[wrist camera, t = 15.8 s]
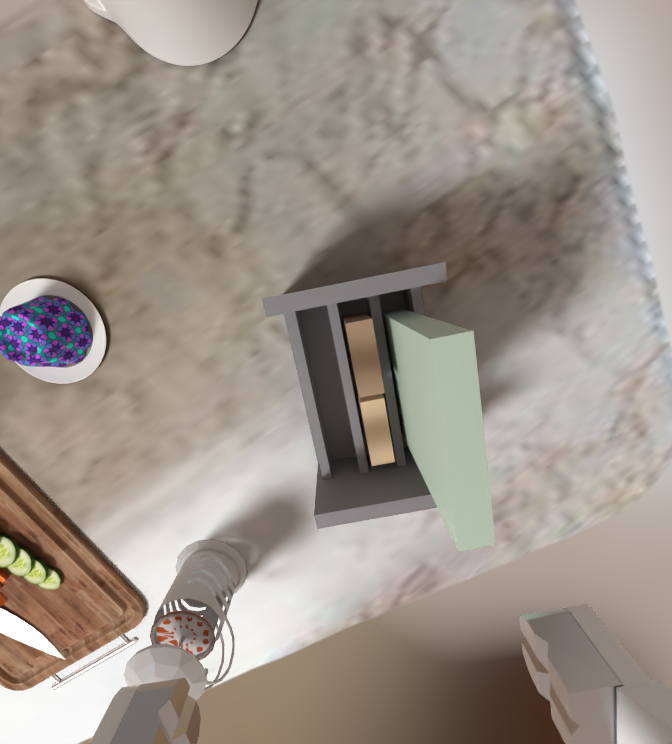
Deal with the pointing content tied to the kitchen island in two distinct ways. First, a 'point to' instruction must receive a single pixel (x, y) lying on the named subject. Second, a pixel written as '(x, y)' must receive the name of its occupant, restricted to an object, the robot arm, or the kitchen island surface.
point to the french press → (191, 618)
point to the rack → (353, 394)
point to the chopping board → (53, 591)
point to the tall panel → (443, 419)
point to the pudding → (51, 331)
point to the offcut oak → (376, 429)
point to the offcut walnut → (364, 354)
